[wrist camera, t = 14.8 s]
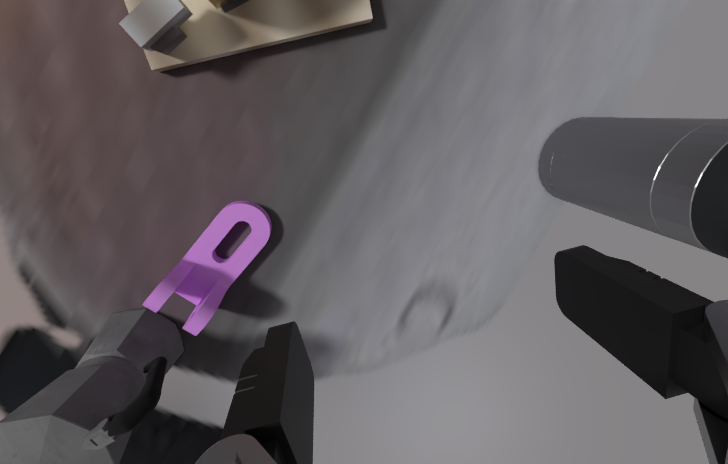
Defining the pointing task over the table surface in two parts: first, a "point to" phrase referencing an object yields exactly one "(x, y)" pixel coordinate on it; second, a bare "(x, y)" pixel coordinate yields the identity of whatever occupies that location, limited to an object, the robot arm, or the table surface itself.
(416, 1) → the table surface
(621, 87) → the table surface
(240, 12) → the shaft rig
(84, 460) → the coffeepot
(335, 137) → the table surface
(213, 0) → the tan rectangular block
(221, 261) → the bracket
